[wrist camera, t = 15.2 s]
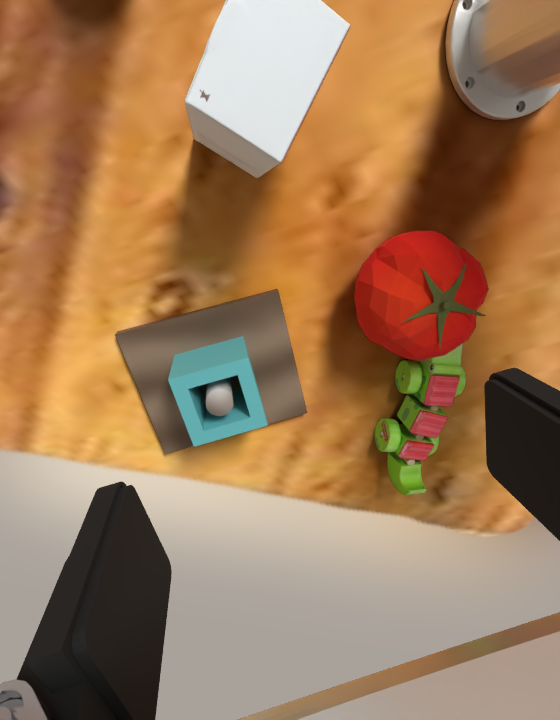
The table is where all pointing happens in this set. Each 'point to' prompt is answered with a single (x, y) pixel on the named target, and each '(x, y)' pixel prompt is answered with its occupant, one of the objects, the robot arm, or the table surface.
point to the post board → (207, 327)
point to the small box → (261, 78)
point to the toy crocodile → (419, 416)
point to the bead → (208, 368)
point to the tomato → (419, 295)
